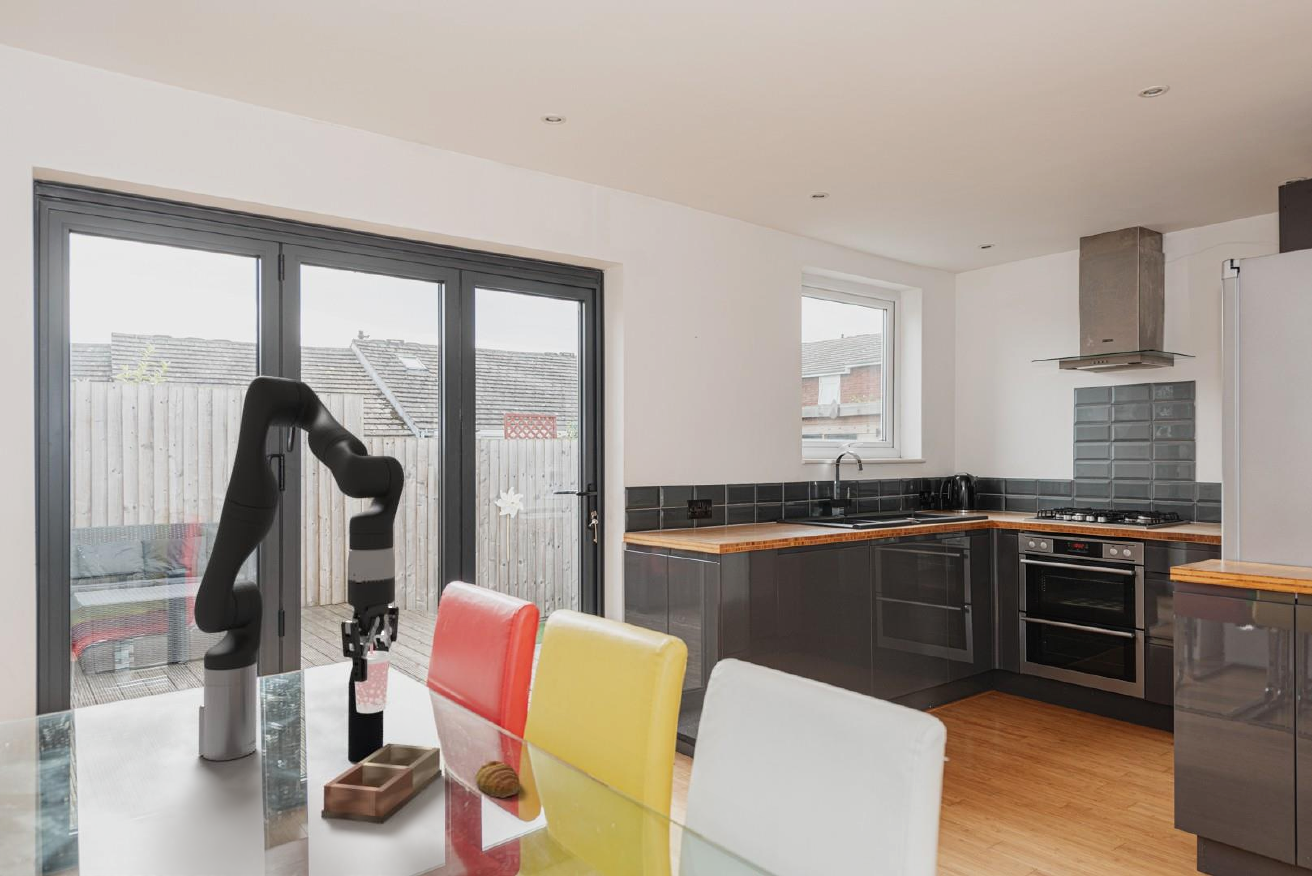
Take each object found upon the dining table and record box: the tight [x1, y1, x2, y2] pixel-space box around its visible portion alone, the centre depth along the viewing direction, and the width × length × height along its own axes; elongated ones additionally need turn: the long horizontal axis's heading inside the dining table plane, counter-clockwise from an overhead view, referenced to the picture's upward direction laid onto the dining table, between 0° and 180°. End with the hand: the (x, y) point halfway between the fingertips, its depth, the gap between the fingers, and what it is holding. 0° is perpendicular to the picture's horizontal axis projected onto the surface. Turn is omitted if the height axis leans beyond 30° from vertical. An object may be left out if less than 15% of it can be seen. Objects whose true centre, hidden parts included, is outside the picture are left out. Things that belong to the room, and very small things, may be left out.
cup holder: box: [320, 743, 443, 825], centre depth 143 cm, size 11×20×5 cm, turn 168°
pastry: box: [475, 760, 521, 799], centre depth 145 cm, size 9×7×4 cm
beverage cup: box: [351, 644, 392, 713], centre depth 138 cm, size 6×6×14 cm
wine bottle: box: [347, 636, 384, 764], centre depth 160 cm, size 6×6×30 cm
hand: (371, 675), depth 138 cm, fingers closed on beverage cup, 6 cm apart
